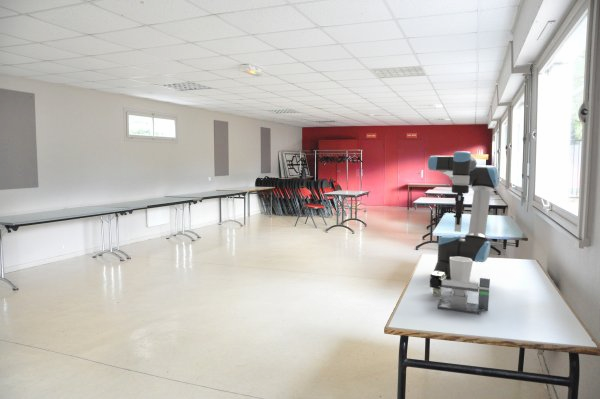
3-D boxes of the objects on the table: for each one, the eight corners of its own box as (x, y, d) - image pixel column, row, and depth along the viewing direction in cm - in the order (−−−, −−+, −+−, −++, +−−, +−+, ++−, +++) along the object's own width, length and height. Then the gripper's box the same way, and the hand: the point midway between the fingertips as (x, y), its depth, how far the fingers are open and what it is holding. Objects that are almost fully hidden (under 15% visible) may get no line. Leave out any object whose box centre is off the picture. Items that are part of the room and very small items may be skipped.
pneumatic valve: (428, 297, 202) (429, 272, 201) (435, 291, 212) (436, 267, 211) (440, 299, 200) (441, 274, 198) (446, 293, 209) (447, 269, 208)
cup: (472, 297, 204) (474, 262, 203) (449, 295, 206) (451, 260, 205) (467, 290, 215) (469, 257, 214) (446, 288, 217) (448, 255, 216)
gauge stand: (487, 307, 190) (489, 276, 189) (488, 315, 180) (490, 283, 179) (439, 301, 198) (440, 271, 196) (437, 308, 188) (439, 277, 186)
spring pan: (487, 298, 189) (488, 284, 188) (488, 304, 181) (489, 290, 180) (442, 292, 196) (442, 279, 195) (440, 298, 188) (441, 284, 187)
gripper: (452, 182, 212) (450, 225, 214) (450, 185, 189) (448, 232, 191) (469, 183, 210) (466, 226, 212) (469, 186, 187) (466, 234, 189)
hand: (457, 229), depth 202 cm, fingers open, 13 cm apart
